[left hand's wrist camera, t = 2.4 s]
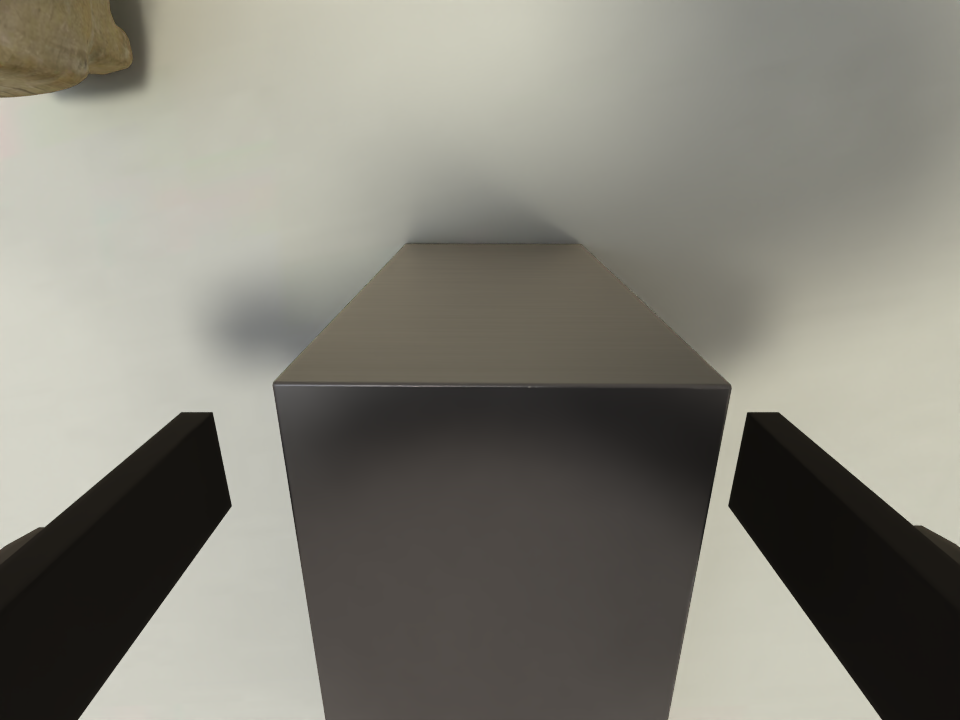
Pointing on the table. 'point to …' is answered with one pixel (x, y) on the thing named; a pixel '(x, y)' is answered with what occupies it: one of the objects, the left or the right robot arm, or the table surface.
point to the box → (499, 489)
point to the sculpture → (57, 44)
